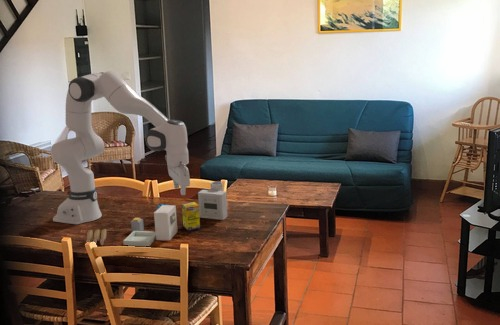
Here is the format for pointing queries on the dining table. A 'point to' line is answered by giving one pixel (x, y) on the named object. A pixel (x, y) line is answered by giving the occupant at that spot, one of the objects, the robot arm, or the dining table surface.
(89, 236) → the ammunition
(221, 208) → the thermostat
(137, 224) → the relay block
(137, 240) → the tray
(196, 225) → the supplement box
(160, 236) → the box
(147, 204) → the dining table surface
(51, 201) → the dining table surface
